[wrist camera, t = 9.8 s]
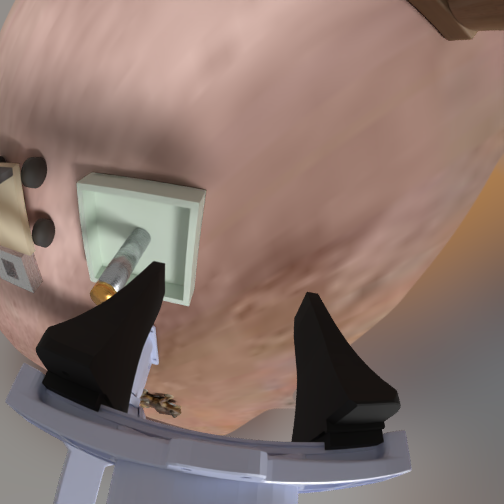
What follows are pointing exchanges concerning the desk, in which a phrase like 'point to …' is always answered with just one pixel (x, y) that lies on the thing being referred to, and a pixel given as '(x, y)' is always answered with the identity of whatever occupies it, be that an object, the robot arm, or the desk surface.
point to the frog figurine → (160, 404)
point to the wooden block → (462, 16)
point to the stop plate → (19, 269)
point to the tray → (143, 226)
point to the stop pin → (121, 266)
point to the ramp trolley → (22, 206)
